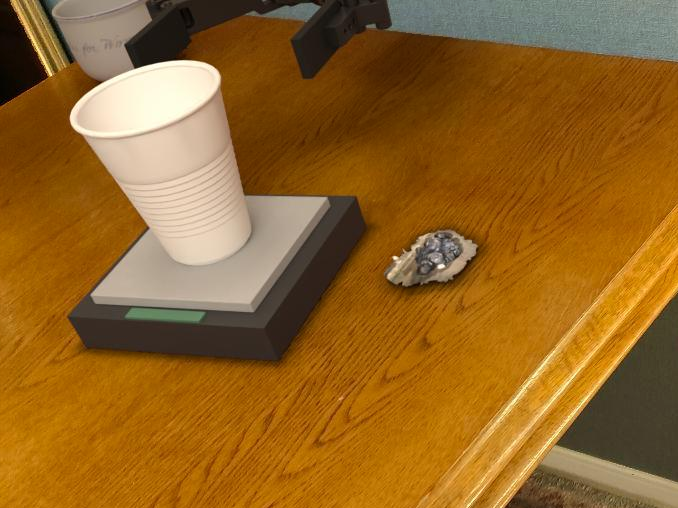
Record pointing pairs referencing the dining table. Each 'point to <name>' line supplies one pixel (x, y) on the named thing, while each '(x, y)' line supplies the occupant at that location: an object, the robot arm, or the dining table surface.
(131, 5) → the teacup
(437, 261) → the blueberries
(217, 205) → the cup
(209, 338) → the scale
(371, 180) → the dining table surface
